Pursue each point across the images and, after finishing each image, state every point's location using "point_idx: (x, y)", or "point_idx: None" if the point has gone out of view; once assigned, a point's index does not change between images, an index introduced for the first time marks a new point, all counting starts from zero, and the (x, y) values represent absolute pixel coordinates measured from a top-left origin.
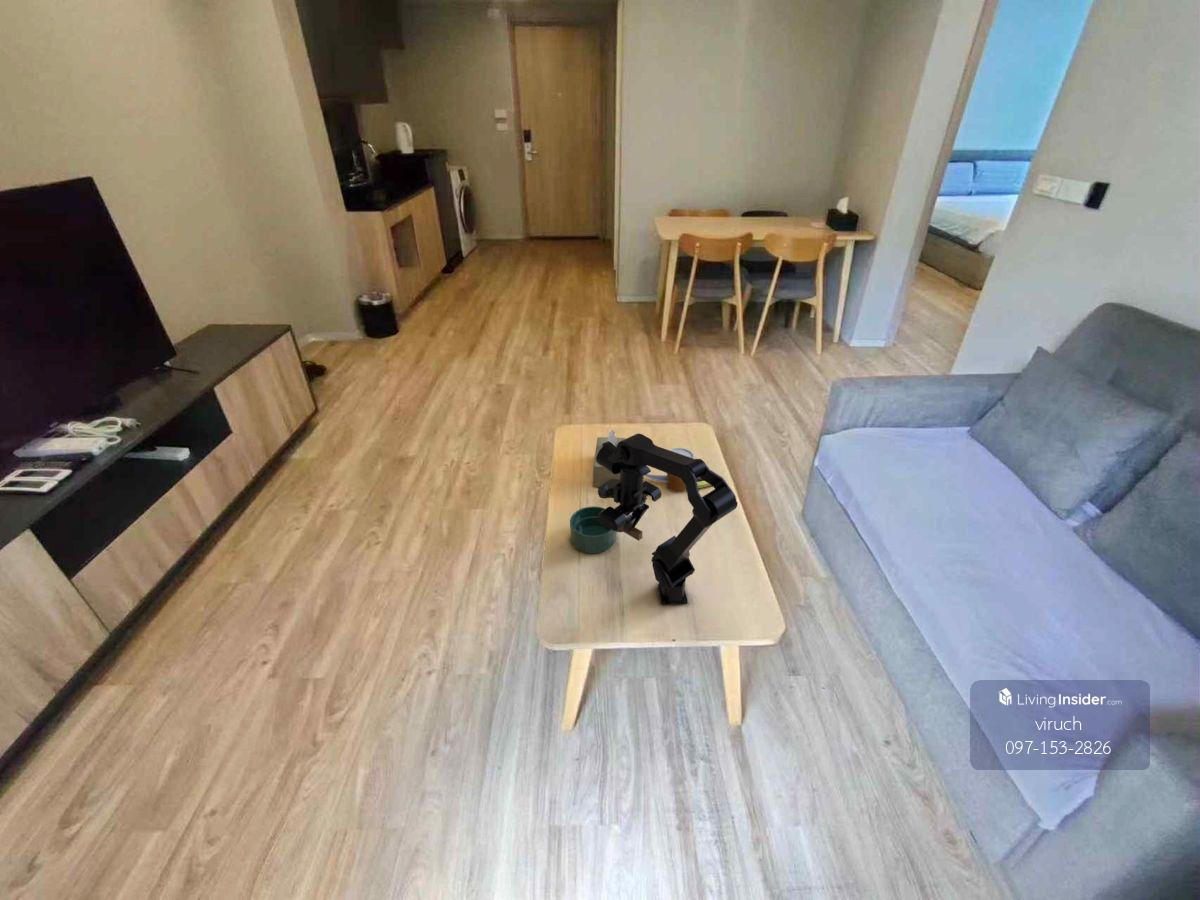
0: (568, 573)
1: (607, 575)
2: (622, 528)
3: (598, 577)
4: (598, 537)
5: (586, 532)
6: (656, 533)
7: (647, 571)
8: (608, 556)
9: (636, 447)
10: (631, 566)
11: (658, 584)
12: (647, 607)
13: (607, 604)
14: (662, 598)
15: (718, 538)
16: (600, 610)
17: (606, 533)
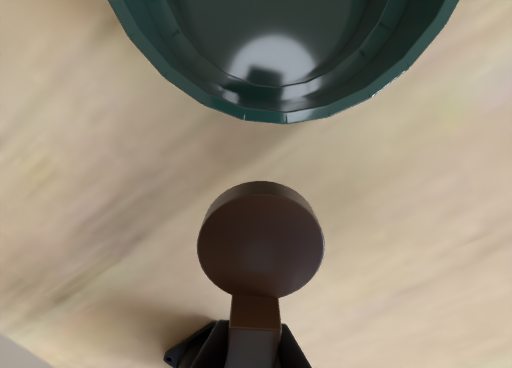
0: (16, 42)
1: (136, 183)
2: (233, 287)
3: (104, 163)
4: (173, 82)
5: None
6: (440, 204)
7: None
8: (218, 126)
9: None
10: None
11: (213, 326)
12: (130, 332)
13: (45, 253)
14: (177, 353)
15: (490, 352)
16: (11, 250)
17: (228, 111)
